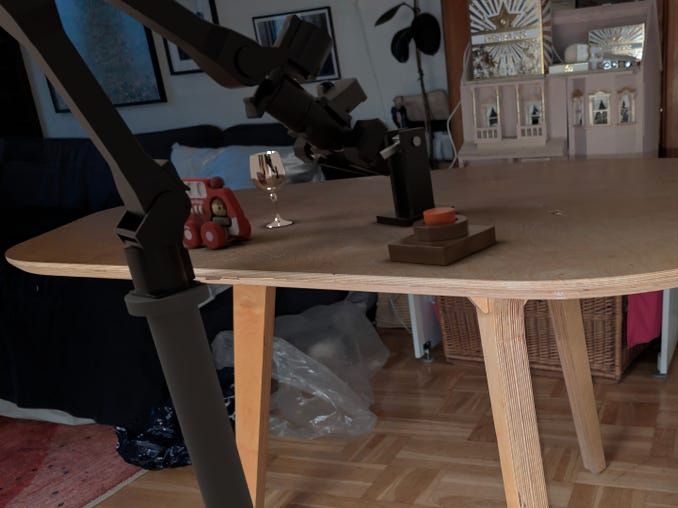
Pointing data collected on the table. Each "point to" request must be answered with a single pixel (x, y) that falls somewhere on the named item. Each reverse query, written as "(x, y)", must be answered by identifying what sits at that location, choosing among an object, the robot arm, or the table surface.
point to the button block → (441, 242)
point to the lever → (392, 148)
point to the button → (439, 216)
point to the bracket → (409, 178)
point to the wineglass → (269, 178)
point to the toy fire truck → (213, 214)
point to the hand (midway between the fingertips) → (379, 173)
